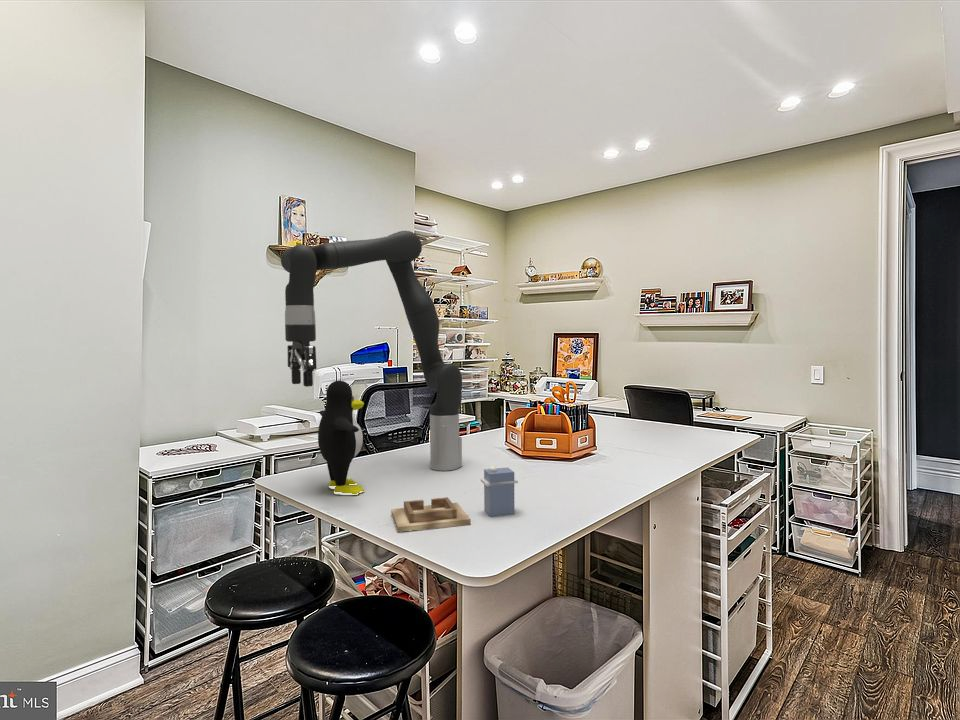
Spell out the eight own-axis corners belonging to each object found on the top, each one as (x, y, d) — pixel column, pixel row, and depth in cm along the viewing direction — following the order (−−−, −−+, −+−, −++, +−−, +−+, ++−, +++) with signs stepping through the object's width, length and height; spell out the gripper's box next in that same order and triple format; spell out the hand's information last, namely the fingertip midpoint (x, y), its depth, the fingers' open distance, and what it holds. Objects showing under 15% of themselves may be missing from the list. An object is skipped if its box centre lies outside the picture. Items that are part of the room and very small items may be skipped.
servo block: (511, 507, 124) (511, 463, 123) (518, 513, 120) (517, 467, 119) (480, 511, 122) (480, 465, 121) (486, 517, 117) (485, 470, 117)
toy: (387, 504, 127) (385, 384, 126) (336, 513, 121) (334, 387, 119) (347, 471, 159) (345, 375, 157) (306, 477, 153) (303, 377, 151)
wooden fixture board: (457, 507, 124) (457, 494, 124) (470, 524, 113) (470, 510, 113) (391, 514, 120) (391, 500, 120) (397, 532, 108) (397, 517, 108)
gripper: (325, 323, 130) (326, 386, 131) (304, 323, 141) (306, 382, 142) (295, 322, 125) (297, 388, 126) (276, 323, 136) (278, 384, 137)
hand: (302, 385), depth 134 cm, fingers open, 8 cm apart
